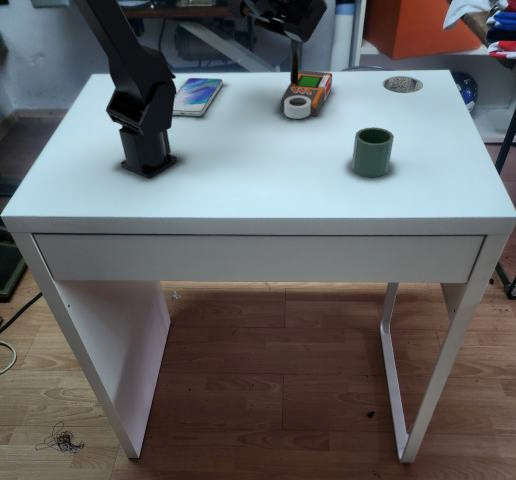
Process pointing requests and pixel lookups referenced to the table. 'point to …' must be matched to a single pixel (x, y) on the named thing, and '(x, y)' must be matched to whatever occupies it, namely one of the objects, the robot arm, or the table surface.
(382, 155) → the pen cup
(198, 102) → the smartphone
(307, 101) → the electronic device
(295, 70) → the stylus
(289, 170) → the table surface
